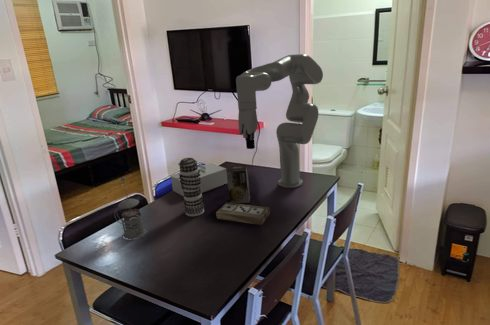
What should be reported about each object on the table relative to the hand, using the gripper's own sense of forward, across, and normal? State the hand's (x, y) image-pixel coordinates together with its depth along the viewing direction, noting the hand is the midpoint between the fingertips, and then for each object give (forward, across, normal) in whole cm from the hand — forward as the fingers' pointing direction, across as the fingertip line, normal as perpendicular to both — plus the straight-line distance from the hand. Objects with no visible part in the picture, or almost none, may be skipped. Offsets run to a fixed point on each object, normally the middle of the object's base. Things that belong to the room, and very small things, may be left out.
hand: (250, 148), depth 150 cm
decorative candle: (+27, +13, -24) cm, 39 cm away
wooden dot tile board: (+27, +11, -1) cm, 29 cm away
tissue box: (+28, -13, -37) cm, 48 cm away
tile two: (+27, +11, +5) cm, 29 cm away
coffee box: (+27, -3, -9) cm, 29 cm away
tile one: (+27, +11, -8) cm, 30 cm away
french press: (+27, +37, -39) cm, 60 cm away
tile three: (+27, +11, -1) cm, 29 cm away
